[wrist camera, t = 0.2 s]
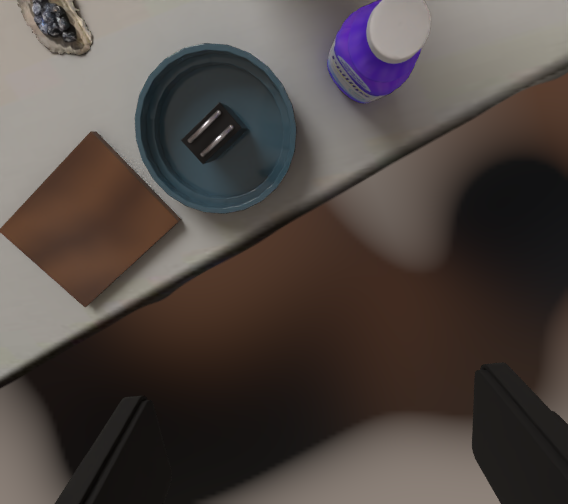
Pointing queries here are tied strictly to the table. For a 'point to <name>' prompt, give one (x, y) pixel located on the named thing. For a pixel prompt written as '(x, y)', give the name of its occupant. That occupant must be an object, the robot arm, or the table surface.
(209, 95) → the bowl
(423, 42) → the bottle
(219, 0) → the table surface
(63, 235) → the serving board
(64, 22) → the blueberries
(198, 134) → the clip
